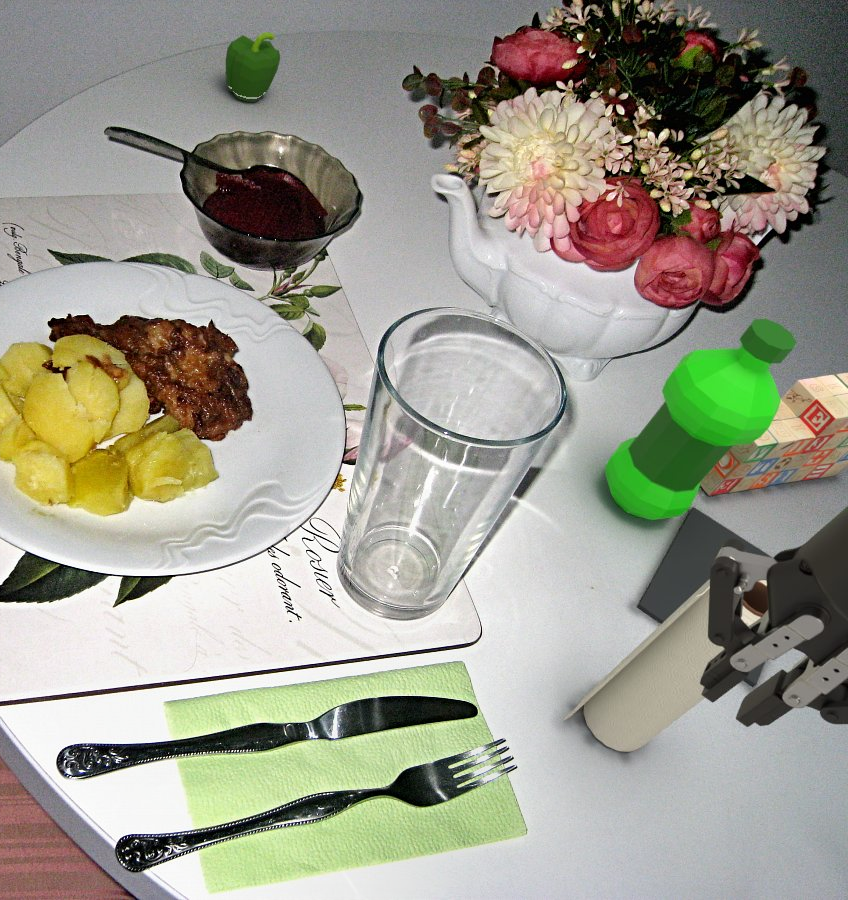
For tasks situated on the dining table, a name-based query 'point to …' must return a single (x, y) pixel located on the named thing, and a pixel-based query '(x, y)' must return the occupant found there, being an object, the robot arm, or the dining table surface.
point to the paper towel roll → (660, 674)
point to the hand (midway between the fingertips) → (728, 700)
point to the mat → (690, 569)
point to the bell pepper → (251, 66)
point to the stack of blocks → (791, 441)
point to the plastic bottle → (699, 422)
